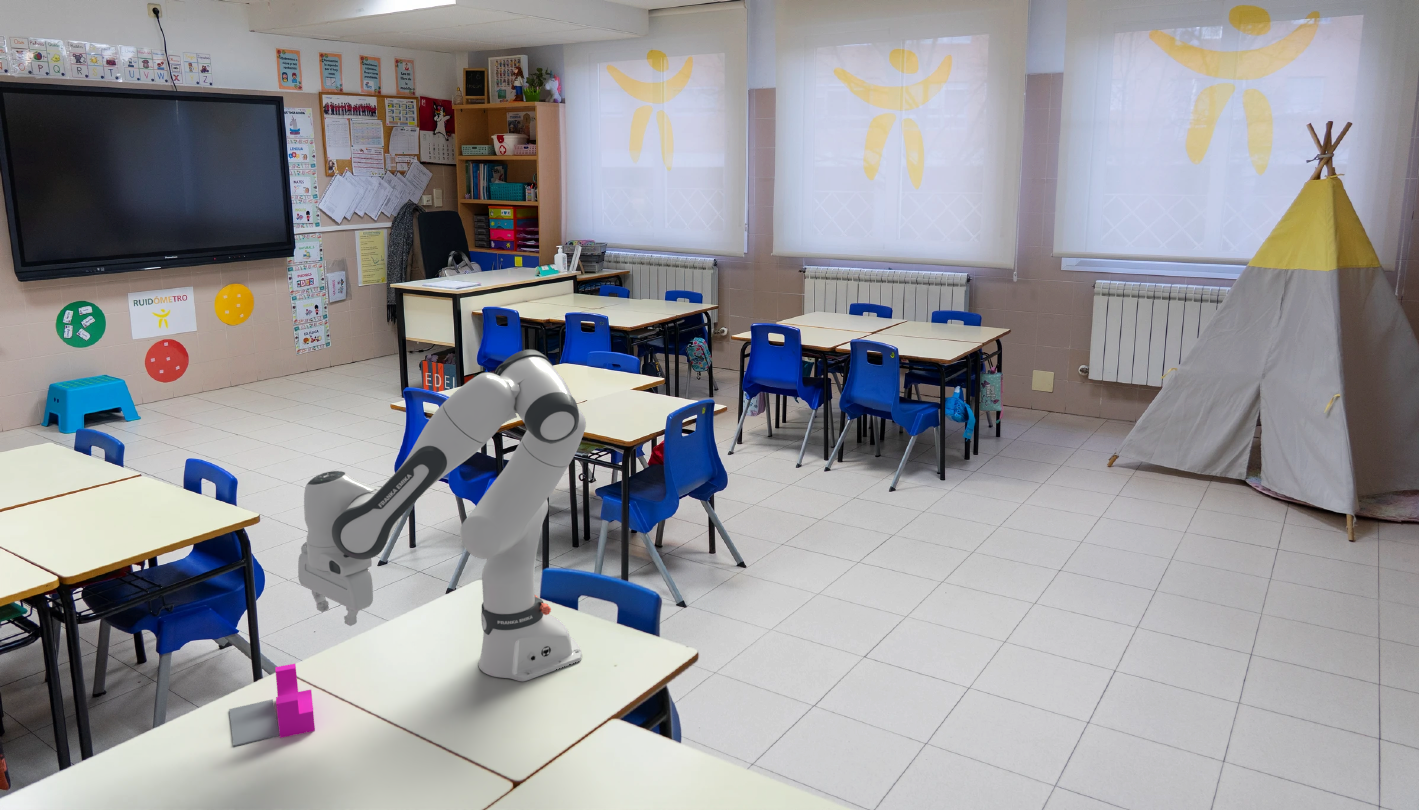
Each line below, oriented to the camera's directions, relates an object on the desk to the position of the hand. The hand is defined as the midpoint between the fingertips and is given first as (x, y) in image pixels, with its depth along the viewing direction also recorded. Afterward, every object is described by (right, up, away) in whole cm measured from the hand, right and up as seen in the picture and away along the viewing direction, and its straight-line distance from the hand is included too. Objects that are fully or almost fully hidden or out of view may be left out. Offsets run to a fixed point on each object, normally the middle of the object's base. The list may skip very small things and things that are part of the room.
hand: (336, 616), depth 194 cm
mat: (-15, -20, -3) cm, 25 cm away
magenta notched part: (-8, -20, 0) cm, 21 cm away
